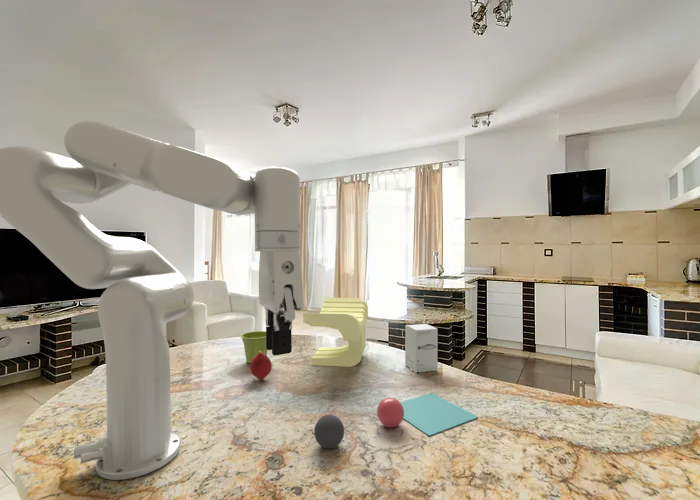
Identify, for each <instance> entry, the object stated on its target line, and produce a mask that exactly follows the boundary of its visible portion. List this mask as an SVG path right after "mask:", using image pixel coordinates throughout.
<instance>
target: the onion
mask: <svg viewBox="0 0 700 500" xmlns="http://www.w3.org/2000/svg"><path fill="white" fill-rule="evenodd" d="M249 364H250V366H249V370H250V371H249V372H250V373H251V374H252V375H253V376H254V377H255V378H257V380H259V381H262V380H263V379H265V378H266V377H267V376H268V375H269V374H271V371H272V368H273V366H272V365H273V364H272V360H271V359H270V357H268V355H267V356H266V355H265V354H263V353H262V352H261V351H259V353H258V355H257V356H255V357H254V358H253V360H252V361H251V363H249Z"/></svg>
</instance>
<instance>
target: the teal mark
mask: <svg viewBox="0 0 700 500" xmlns="http://www.w3.org/2000/svg"><path fill="white" fill-rule="evenodd" d="M399 402H400V403H401V404H402V406H403V409H404V418H403V420H404V421H406V422H408V423H409V424H410V425H411V426H413V427H414V428H416V429H418V430H419V431H420V432H422V433H424V434H425V435H426V436H428V437H432V436H434V435H436V434H440V433H442V432H445V431H448V430H450V429H452V428H455V427H458V426H461V425H464V424H466V423H468V422H472V421H473V420H476V419H479V416H477V415H475V414H473V413H471V412H470V411H468V410H465V409H464V408H462V407H460V406H458V405H456V404H454V403H452V402H450V401H448V400H446V399H444V398H442V397H441V396H438V395H437V394H435V393H433V392H430V393H427V394H424V395H421V396H416V397H414V398H410V399H407V400H404V401H399Z"/></svg>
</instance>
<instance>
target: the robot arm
mask: <svg viewBox="0 0 700 500" xmlns="http://www.w3.org/2000/svg"><path fill="white" fill-rule="evenodd" d="M63 142H64V147H65V149H66V151H67V153H68V155H69V156H70V157H67V156H65V155H61V154H58V153H55V152H51V151H47V150H44V149H43V150H42V149H39V148H35V147H31V146H30V147H28V146H18V145H17V146H13V145H12V146H6V147H1V148H0V217H1V218H2V219H4V221H5V222H7V224H9V225H10V226H11V227H13V228H14V229H15V230H16V231H18V233H20V234H22V235H23V236H24V237H25V238H27V240H29V241H30V242H31V243H32V244H33V245H34V246H35V247H36V248H37V249H38V250H39V251H40V252H41V254H43V255H44V256H45V257H46V258H47V259H49V260H50V262H52V263H53V265H55V267H57V268H58V269H59V270H60V271H61V272H62V273H63V274H64V275H65V276H66V277H67V278H68V279H70V280H71V281H72V282H73V284H75V285H77V286H78V287H81V288H83V289H87V290H88V289H89V290H96V289H97V290H98V289H105V290H104V291H103V292H102V294H101V296H100V298H99V300H98V303H97V317H98V321H99V324H100V328H101V332H102V337H103V342H104V352H105V378H106V383H105V384H106V388H105V389H106V432H105V437H103V438H99V439H98V440H97V441H95V442H91V443H85V444H80V445H75V446H74V450H73V460H77V459H80V464H85V463H89V462H91V461H95V460H96V462H95V472H96V474H97V475H98V476H99V477H101V478H102V479H103V478H104V479H106V480H111V481H113V480H114V481H121V480H128V479H133V478H137V477H140V476H145V475H147V474H149V473H151V472H152V473H153V472H154V471H156V470H158V469H160V468H162V467H164V466H165V465H167V464H168V463H169V462H171V461H172V460H173V459H174V458H175V457H176V456H177V455H178V453H179V452H180V450H181V438H180V437H179V435H177V434H176V433H174V432H172V423H171V422H172V421H171V419H172V418H171V417H172V415H171V414H172V413H171V353H170V346H169V342H168V340H167V336H166V334H165V332H164V329H163V325H164V324H167V323H169V322H172V321H174V320H177V319H179V318H181V317H183V316H184V315H186V314H187V313H188V312H189V311H190V309H191V308H192V306H193V304H194V298H195V297H194V295H195V294H194V291H193V287H192V285H191V284H190V282H189V280H188V279H187V278H186V277H185V276H184V275H183V273H181V272H180V271H179V270H178V269H177V268H176V267H175V266H174V265H173V264H172V263H171V262H170V261H168V260H167V259H166V258H165V257H164V255H162V254H161V253H160V252H159V251H157V250H156V249H155V247H153V246H152V245H150V244H149V243H147V242H145V241H143V240H141V239H138V238H135V237H132V236H131V237H130V236H118V235H117V236H115V235H109V234H106V233H104V232H103V231H101V230H99V229H98V227H96V226H94V225H93V224H92V223H91V222H90V221H89V220H88V219H87V218H86V217H85V216H84V215H83V214H82V213H80V211H79V212H78V211H77V210H76V209H75V208H73V207H71V206H69V205H67V203H69V204H70V203H71V204H89V203H94V202H97V201H98V200H101V199H104V198H105V197H108V196H109V195H111V194H113V193H115V192H118V191H119V190H122V189H125V188H126V187H128V186H130V185H131V184H133V185H136V186H137V187H141V188H144V189H147V190H149V191H152V192H156V191H157V192H160V193H162V194H164V195H165V194H166V195H168V196H170V197H174V198H177V199H181V200H183V201H186V202H189V203H192V204H195V205H198V206H201V207H204V208H207V209H211V210H214V211H219V212H224V213H227V214H232V215H235V216H236V215H237V216H240V215H241V216H244V215H245V216H247V215H251V214H254V252H259V262H258V268H259V269H258V300H259V304H260V306H262V307H263V308H264V309H265V331H266V349H267V351H271V353H272V355H273V356H275V357H276V356H281V355H286V354H291V352H292V351H293V350H292V346H293V345H292V344H293V343H292V339H293V338H292V335H293V334H292V329H293V321H294V320H295V319H296V311H297V312H300V311H302V309H303V308H304V288H303V272H302V271H303V270H302V263H301V256H300V252H301V181H300V176H299V174H298V172H297V171H295V170H294V169H290V168H288V167H282V166H281V167H279V166H277V167H276V166H269V167H262V168H260V169H258V170H257V171H256V172H255V174H252V173H249V172H246V171H243V170H241V169H239V168H238V167H236V166H234V165H233V164H231V163H229V162H227V161H225V160H221V159H218V158H216V157H212V156H210V155H207V154H204V153H200V152H197V151H194V150H191V149H187V148H185V147H181V146H178V145H174V144H170V143H167V142H164V141H161V140H158V139H154V138H152V137H148V136H146V135H145V136H144V135H142V134H139V133H135V132H132V131H129V130H126V129H122V128H120V127H116V126H113V125H110V124H108V123H103V122H101V121H100V122H99V121H94V120H83V121H79V122H76V123H73V124H72V125H71V126H70V127H68V129H67V130H66V132H65V133H64V139H63Z"/></svg>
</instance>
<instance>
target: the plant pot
mask: <svg viewBox="0 0 700 500" xmlns="http://www.w3.org/2000/svg"><path fill="white" fill-rule="evenodd" d="M240 338H241V339H242V342H243V346H244V352H245V353H244V354H245V360H246V361H245V362H246V363H247V364H251V361H252V360H253V358H254V357H255V356H257V355H258V353H259V351H261V352H262V353H263V354H265V355H266V356H267V357H268V350H267V349H266V330H265V331H264V330H263V331H262V330H258V331H257V330H255V331H249V332H245V333H242V334H241V335H240Z"/></svg>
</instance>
